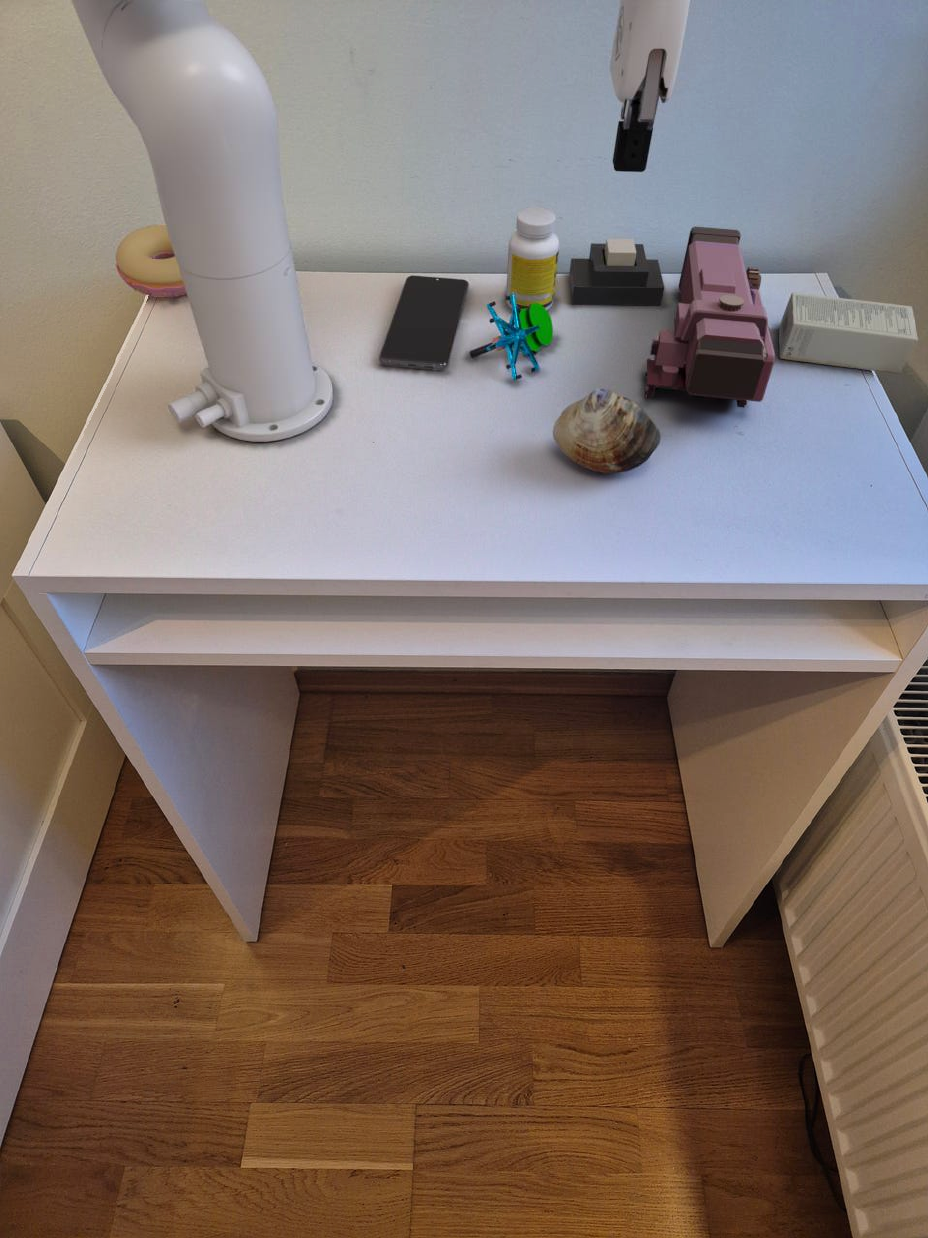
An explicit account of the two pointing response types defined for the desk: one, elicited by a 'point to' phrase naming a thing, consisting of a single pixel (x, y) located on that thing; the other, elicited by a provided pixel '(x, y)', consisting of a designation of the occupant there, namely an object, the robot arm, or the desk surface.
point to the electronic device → (715, 325)
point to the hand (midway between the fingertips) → (628, 167)
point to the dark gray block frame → (615, 280)
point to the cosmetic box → (847, 333)
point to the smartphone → (425, 323)
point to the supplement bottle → (533, 259)
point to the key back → (620, 252)
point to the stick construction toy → (519, 334)
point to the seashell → (606, 433)
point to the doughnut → (150, 263)
